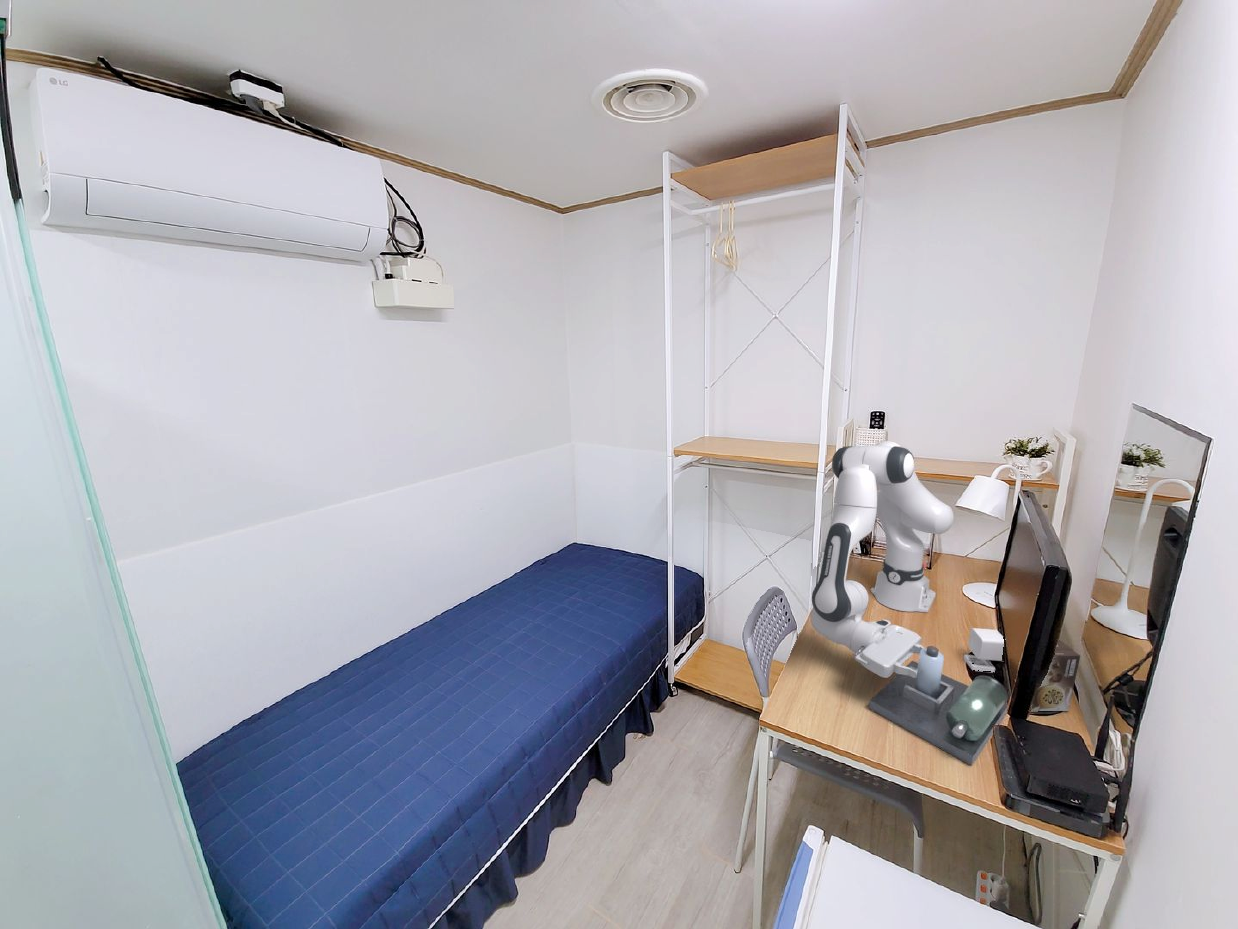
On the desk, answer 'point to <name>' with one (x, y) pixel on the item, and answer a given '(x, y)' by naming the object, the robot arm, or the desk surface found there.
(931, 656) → the capped plastic bottle
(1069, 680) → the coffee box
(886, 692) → the motor mount
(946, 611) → the desk surface
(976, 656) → the security camera
